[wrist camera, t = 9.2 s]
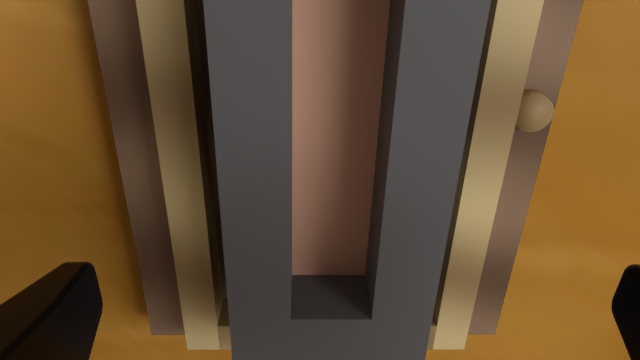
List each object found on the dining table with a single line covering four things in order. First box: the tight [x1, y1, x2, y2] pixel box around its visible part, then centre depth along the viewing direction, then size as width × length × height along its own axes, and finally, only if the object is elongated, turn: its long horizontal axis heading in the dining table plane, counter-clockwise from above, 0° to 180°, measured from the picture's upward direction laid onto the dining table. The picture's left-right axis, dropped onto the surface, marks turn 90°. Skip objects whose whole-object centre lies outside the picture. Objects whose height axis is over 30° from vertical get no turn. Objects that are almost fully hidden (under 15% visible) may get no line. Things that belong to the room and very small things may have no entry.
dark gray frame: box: [203, 0, 491, 360], centre depth 14 cm, size 14×6×4 cm, turn 178°
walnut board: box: [87, 0, 583, 350], centre depth 16 cm, size 20×14×3 cm
